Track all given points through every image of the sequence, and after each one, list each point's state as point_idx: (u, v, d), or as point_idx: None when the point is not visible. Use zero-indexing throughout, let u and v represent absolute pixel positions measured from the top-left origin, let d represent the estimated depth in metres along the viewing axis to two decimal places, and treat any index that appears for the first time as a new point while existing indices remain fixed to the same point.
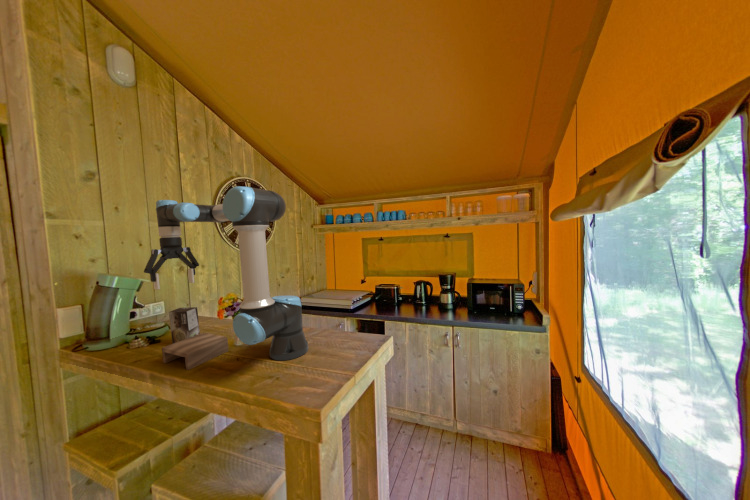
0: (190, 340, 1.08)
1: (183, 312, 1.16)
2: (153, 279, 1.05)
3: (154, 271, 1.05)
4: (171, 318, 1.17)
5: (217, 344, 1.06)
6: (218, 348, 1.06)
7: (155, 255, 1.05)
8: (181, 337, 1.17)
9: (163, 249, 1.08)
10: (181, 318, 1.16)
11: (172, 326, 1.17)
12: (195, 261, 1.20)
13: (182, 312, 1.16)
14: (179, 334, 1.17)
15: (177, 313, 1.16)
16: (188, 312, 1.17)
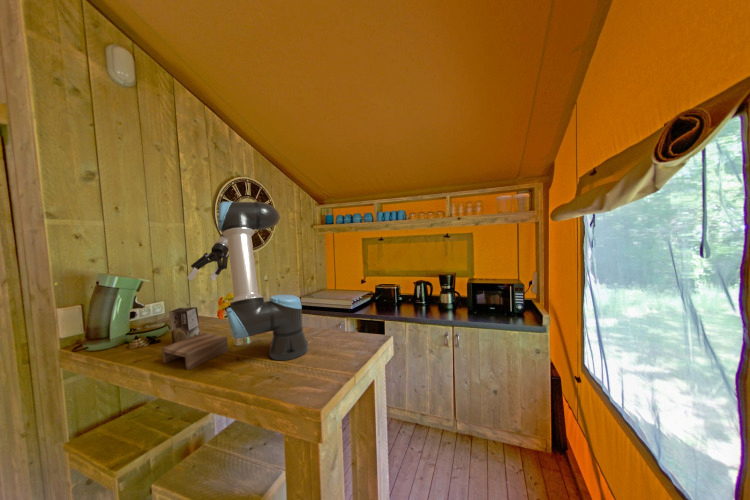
0: (190, 340, 1.08)
1: (183, 312, 1.16)
2: (191, 271, 1.32)
3: (194, 266, 1.34)
4: (171, 318, 1.17)
5: (217, 344, 1.06)
6: (218, 348, 1.06)
7: (202, 256, 1.38)
8: (181, 337, 1.17)
9: (210, 253, 1.38)
10: (181, 318, 1.16)
11: (172, 326, 1.17)
12: (223, 262, 1.31)
13: (182, 312, 1.16)
14: (179, 334, 1.17)
15: (177, 313, 1.16)
16: (188, 312, 1.17)
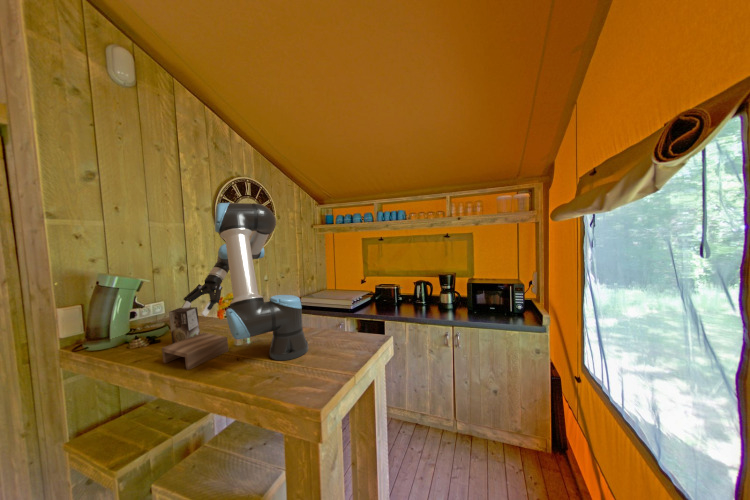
0: (190, 340, 1.08)
1: (183, 312, 1.16)
2: (183, 305, 1.29)
3: (187, 299, 1.30)
4: (171, 318, 1.17)
5: (217, 344, 1.06)
6: (218, 348, 1.06)
7: (195, 288, 1.34)
8: (181, 337, 1.17)
9: None
10: (181, 318, 1.16)
11: (172, 326, 1.17)
12: (215, 296, 1.27)
13: (182, 312, 1.16)
14: (179, 334, 1.17)
15: (177, 313, 1.16)
16: (188, 312, 1.17)
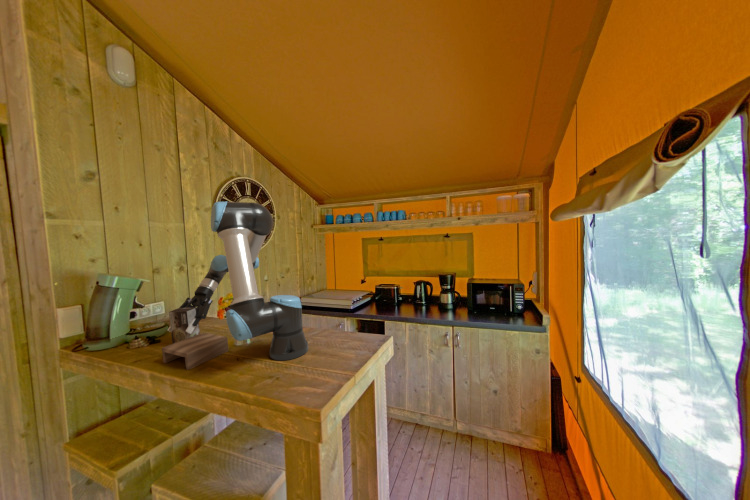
0: (190, 340, 1.08)
1: (183, 312, 1.16)
2: None
3: None
4: (171, 318, 1.17)
5: (217, 344, 1.06)
6: (218, 348, 1.06)
7: (185, 302, 1.27)
8: (181, 337, 1.17)
9: (193, 297, 1.28)
10: (181, 318, 1.16)
11: (172, 326, 1.17)
12: (202, 311, 1.21)
13: (182, 312, 1.16)
14: (179, 334, 1.17)
15: (177, 313, 1.16)
16: (188, 312, 1.17)
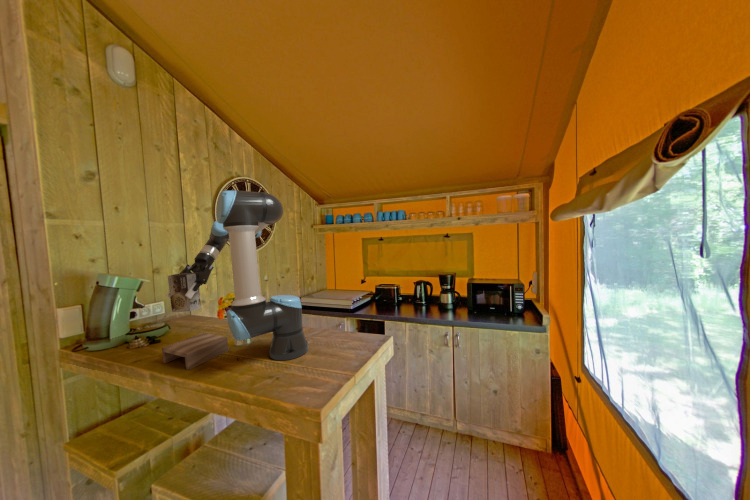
0: (190, 340, 1.08)
1: (183, 276, 1.11)
2: None
3: None
4: (170, 282, 1.11)
5: (217, 344, 1.06)
6: (218, 348, 1.06)
7: (184, 268, 1.21)
8: (181, 303, 1.11)
9: (193, 264, 1.23)
10: (180, 282, 1.11)
11: (171, 291, 1.12)
12: (202, 276, 1.15)
13: (181, 276, 1.11)
14: (178, 300, 1.11)
15: (176, 277, 1.11)
16: (188, 276, 1.11)
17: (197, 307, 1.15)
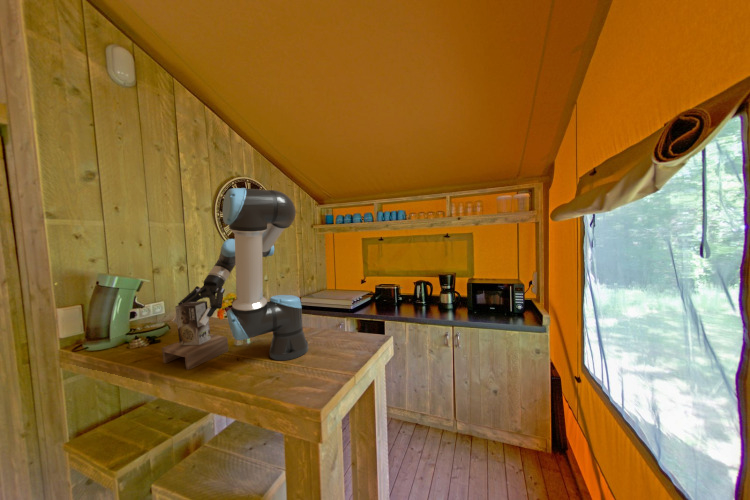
0: None
1: (191, 306, 1.02)
2: None
3: None
4: (178, 313, 1.02)
5: (217, 344, 1.06)
6: (218, 348, 1.06)
7: (193, 291, 1.13)
8: (189, 335, 1.03)
9: (202, 287, 1.13)
10: (189, 313, 1.02)
11: (179, 322, 1.03)
12: (216, 300, 1.06)
13: (190, 306, 1.02)
14: (187, 332, 1.03)
15: (184, 308, 1.02)
16: (197, 307, 1.02)
17: (207, 339, 1.06)
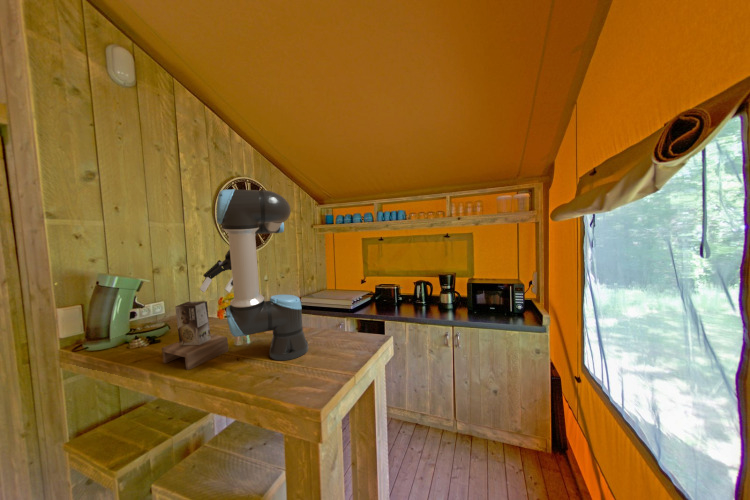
0: None
1: (191, 306, 1.02)
2: (203, 281, 1.19)
3: (207, 275, 1.21)
4: (178, 313, 1.02)
5: (217, 344, 1.06)
6: (218, 348, 1.06)
7: (216, 264, 1.25)
8: (189, 335, 1.03)
9: (224, 260, 1.25)
10: (189, 313, 1.02)
11: (179, 322, 1.03)
12: None
13: (190, 306, 1.02)
14: (187, 332, 1.03)
15: (184, 308, 1.02)
16: (197, 307, 1.02)
17: (207, 339, 1.06)
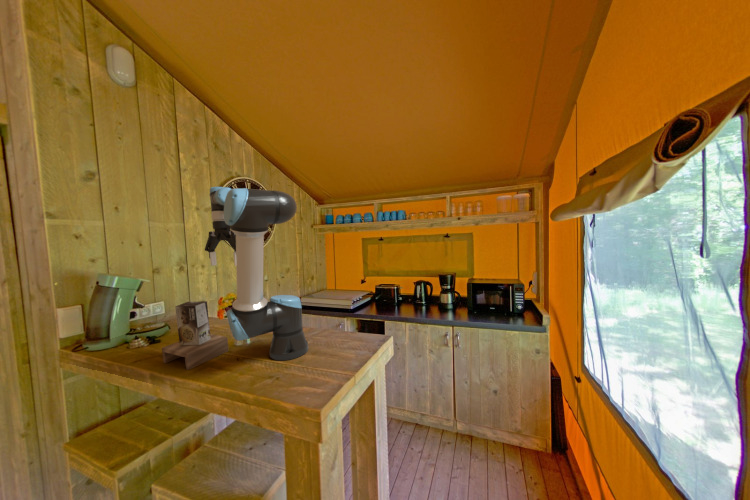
0: None
1: (191, 306, 1.02)
2: (209, 256, 1.26)
3: (208, 250, 1.25)
4: (178, 313, 1.02)
5: (217, 344, 1.06)
6: (218, 348, 1.06)
7: (209, 236, 1.24)
8: (189, 335, 1.03)
9: (214, 231, 1.23)
10: (189, 313, 1.02)
11: (179, 322, 1.03)
12: None
13: (190, 306, 1.02)
14: (187, 332, 1.03)
15: (184, 308, 1.02)
16: (197, 307, 1.02)
17: (207, 339, 1.06)
